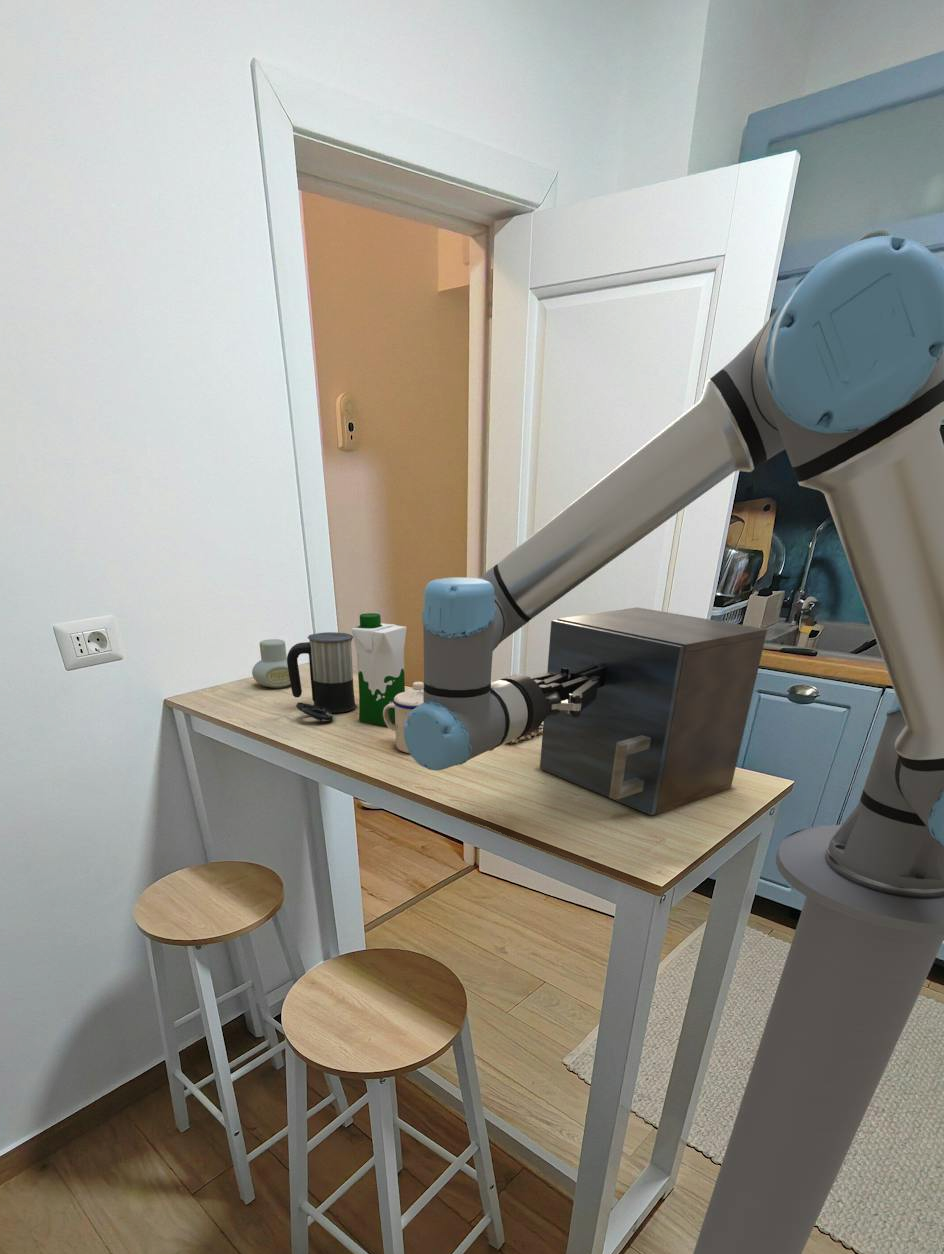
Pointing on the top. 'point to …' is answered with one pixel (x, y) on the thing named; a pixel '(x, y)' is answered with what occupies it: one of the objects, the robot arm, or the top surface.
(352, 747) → the top surface
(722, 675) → the cupboard
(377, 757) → the top surface
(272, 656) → the air freshener
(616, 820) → the top surface
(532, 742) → the top surface
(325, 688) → the milk frother
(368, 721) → the milk carton
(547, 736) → the cupboard door
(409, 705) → the teacup with lid
